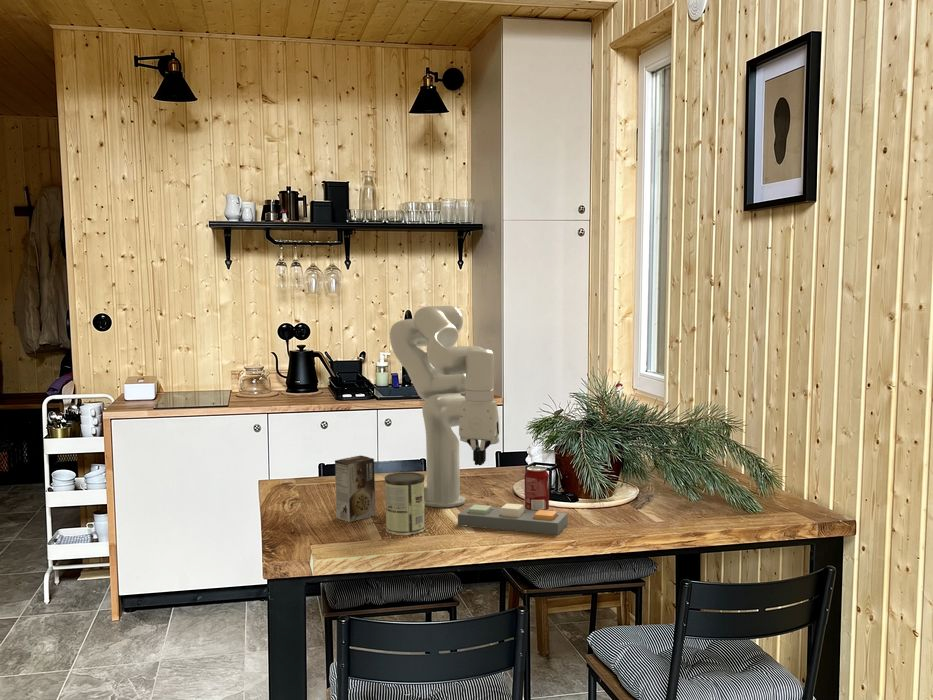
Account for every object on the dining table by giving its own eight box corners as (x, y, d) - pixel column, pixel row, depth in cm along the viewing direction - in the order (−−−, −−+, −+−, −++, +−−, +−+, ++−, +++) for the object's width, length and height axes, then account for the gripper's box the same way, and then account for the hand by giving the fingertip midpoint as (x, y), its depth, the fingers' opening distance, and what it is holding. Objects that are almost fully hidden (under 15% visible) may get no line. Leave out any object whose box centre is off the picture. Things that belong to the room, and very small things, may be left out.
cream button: (501, 517, 230) (501, 507, 230) (506, 512, 235) (506, 503, 235) (518, 518, 229) (518, 509, 229) (524, 514, 233) (524, 504, 233)
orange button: (534, 524, 227) (534, 514, 227) (539, 519, 232) (539, 509, 232) (552, 525, 226) (552, 516, 226) (557, 520, 230) (557, 511, 230)
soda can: (547, 514, 242) (547, 471, 241) (523, 513, 244) (522, 470, 243) (550, 508, 249) (550, 466, 248) (526, 507, 250) (526, 465, 249)
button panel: (457, 525, 232) (457, 514, 232) (471, 515, 241) (470, 505, 241) (557, 534, 223) (557, 523, 222) (567, 524, 232) (567, 513, 232)
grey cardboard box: (361, 511, 247) (360, 454, 246) (376, 516, 242) (375, 458, 241) (335, 518, 241) (333, 459, 239) (349, 522, 236) (348, 463, 235)
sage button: (468, 518, 234) (468, 508, 233) (474, 513, 238) (474, 504, 238) (485, 519, 232) (485, 510, 232) (491, 515, 236) (491, 505, 236)
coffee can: (392, 523, 235) (391, 471, 234) (429, 525, 232) (429, 472, 231) (380, 534, 225) (379, 479, 224) (419, 536, 222) (418, 481, 221)
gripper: (448, 396, 233) (448, 464, 234) (501, 399, 227) (501, 469, 229) (458, 392, 239) (458, 459, 241) (510, 395, 234) (510, 463, 236)
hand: (479, 464), depth 235 cm, fingers closed
